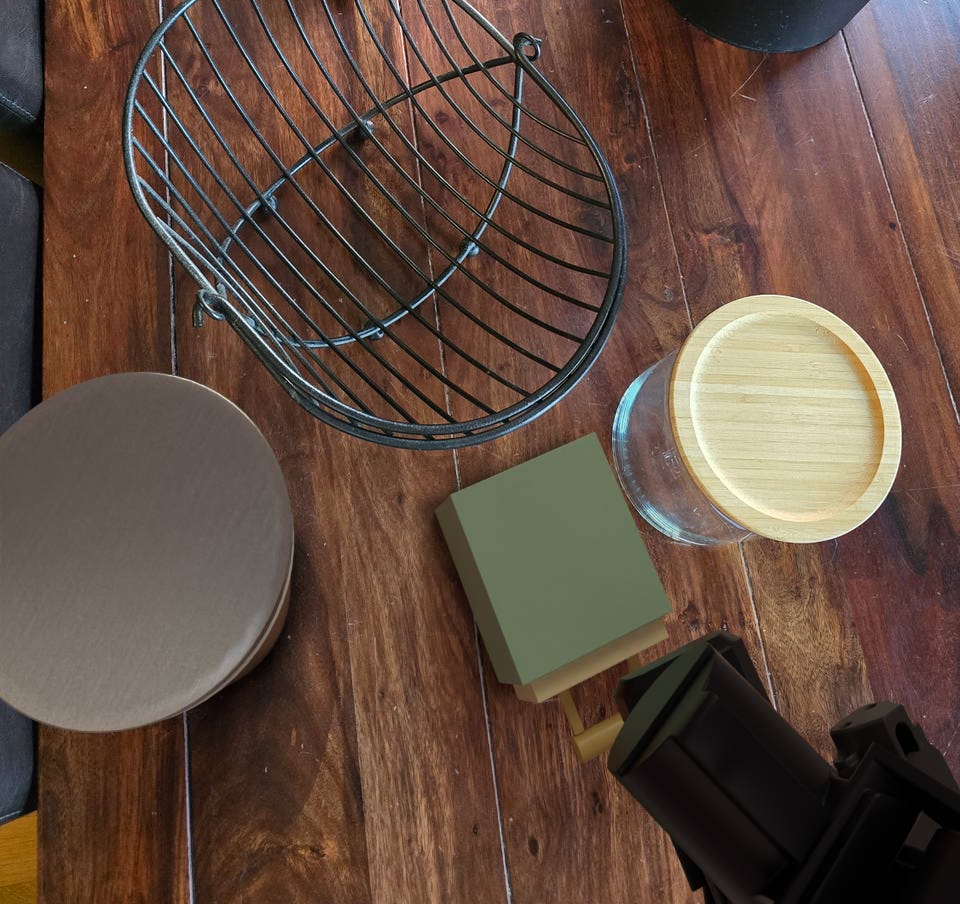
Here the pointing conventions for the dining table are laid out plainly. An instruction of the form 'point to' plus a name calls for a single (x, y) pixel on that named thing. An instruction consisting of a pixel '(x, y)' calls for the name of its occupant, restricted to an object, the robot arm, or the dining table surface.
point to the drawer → (585, 667)
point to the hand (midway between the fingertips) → (708, 852)
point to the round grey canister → (137, 552)
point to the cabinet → (551, 561)
